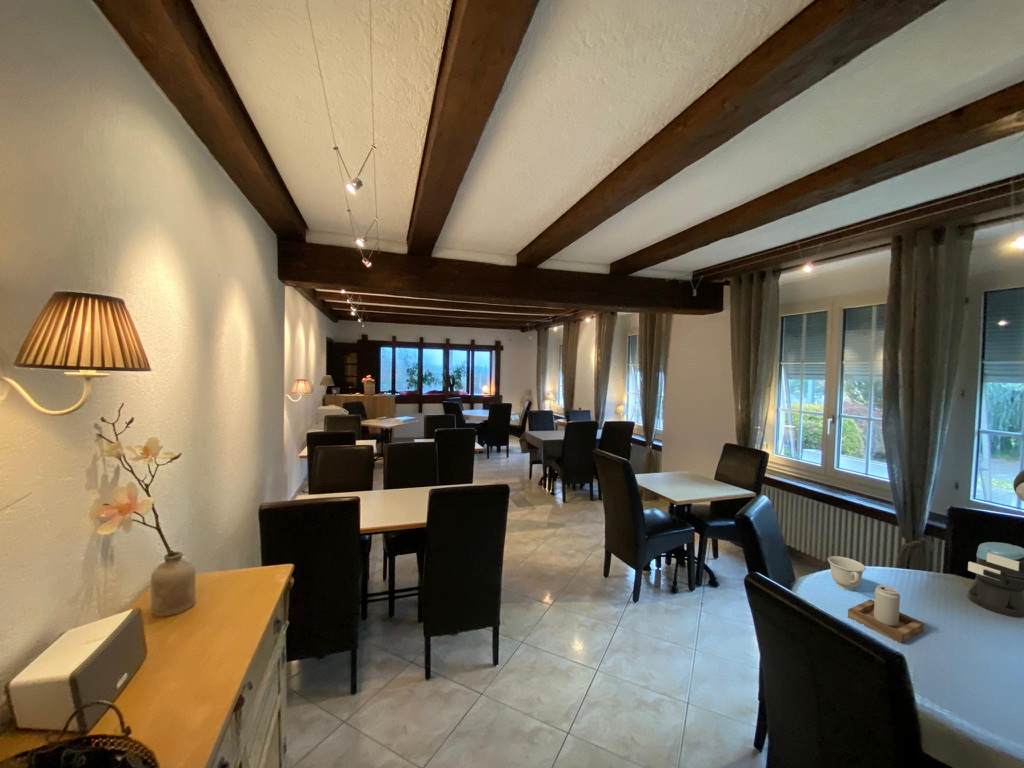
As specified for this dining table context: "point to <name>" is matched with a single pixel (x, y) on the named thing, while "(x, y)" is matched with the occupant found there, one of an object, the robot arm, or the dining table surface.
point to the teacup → (846, 572)
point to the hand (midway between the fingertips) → (977, 561)
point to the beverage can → (887, 605)
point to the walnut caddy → (898, 633)
